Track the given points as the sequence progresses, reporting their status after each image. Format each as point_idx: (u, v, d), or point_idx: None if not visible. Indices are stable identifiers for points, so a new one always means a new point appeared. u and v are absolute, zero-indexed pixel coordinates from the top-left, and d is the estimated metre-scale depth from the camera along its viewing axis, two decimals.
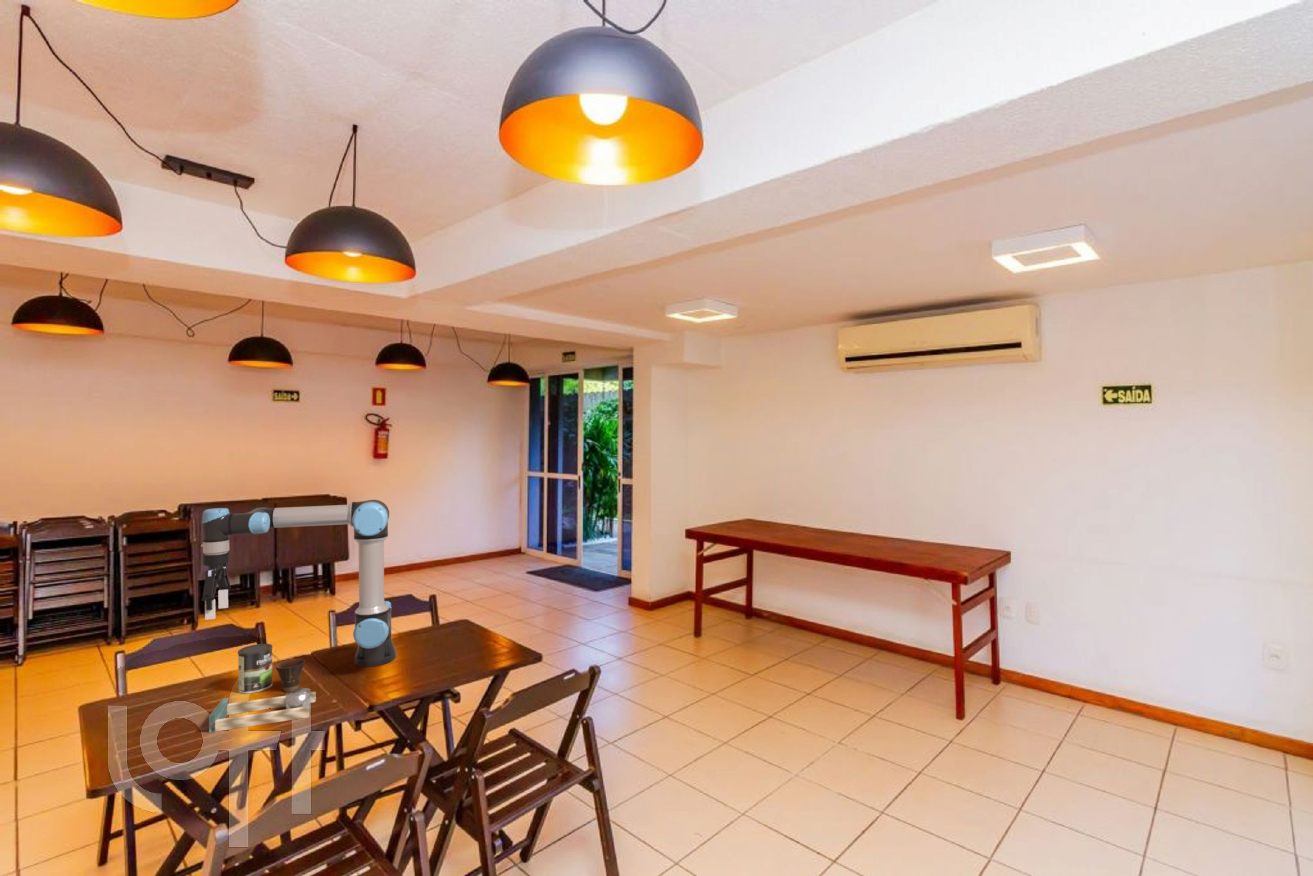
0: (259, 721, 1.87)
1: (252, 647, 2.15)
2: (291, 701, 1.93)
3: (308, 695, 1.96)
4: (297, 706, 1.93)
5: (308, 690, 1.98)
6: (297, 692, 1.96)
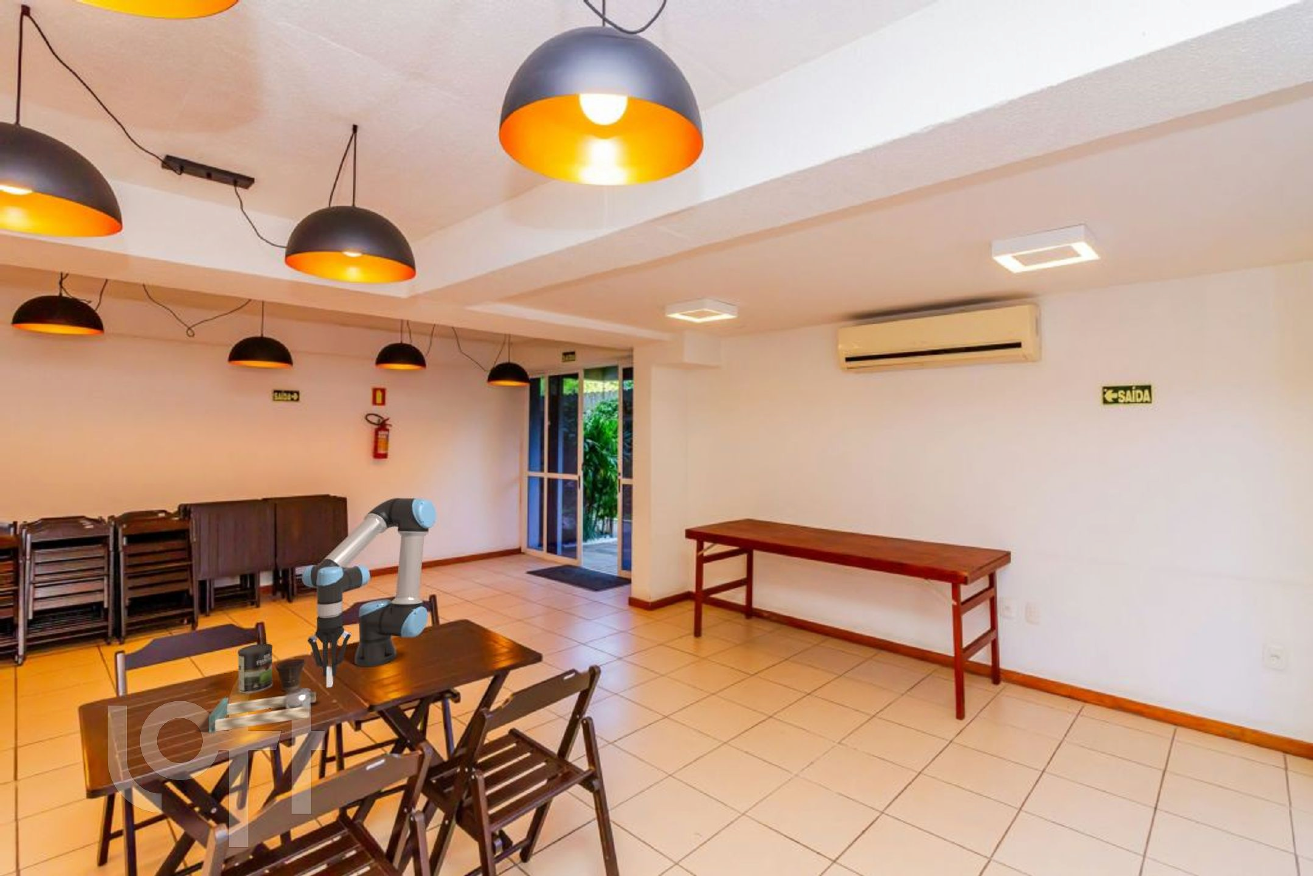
0: (259, 721, 1.87)
1: (252, 647, 2.15)
2: (291, 701, 1.93)
3: (308, 695, 1.96)
4: (297, 706, 1.93)
5: (308, 690, 1.98)
6: (297, 692, 1.96)
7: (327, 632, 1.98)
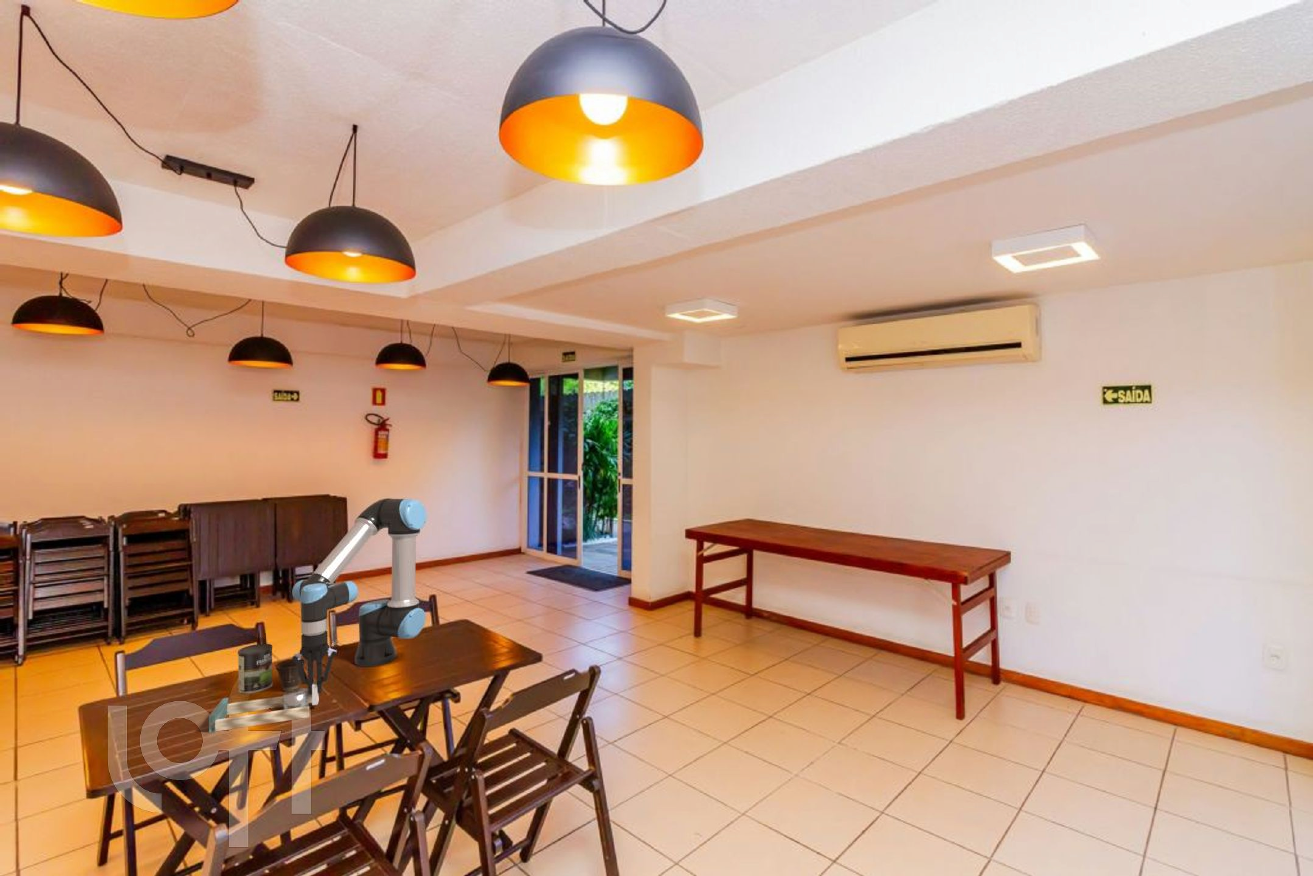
0: (259, 721, 1.87)
1: (252, 647, 2.15)
2: (289, 701, 1.92)
3: (306, 695, 1.95)
4: (295, 706, 1.93)
5: (306, 690, 1.97)
6: (295, 692, 1.96)
7: (312, 650, 1.96)
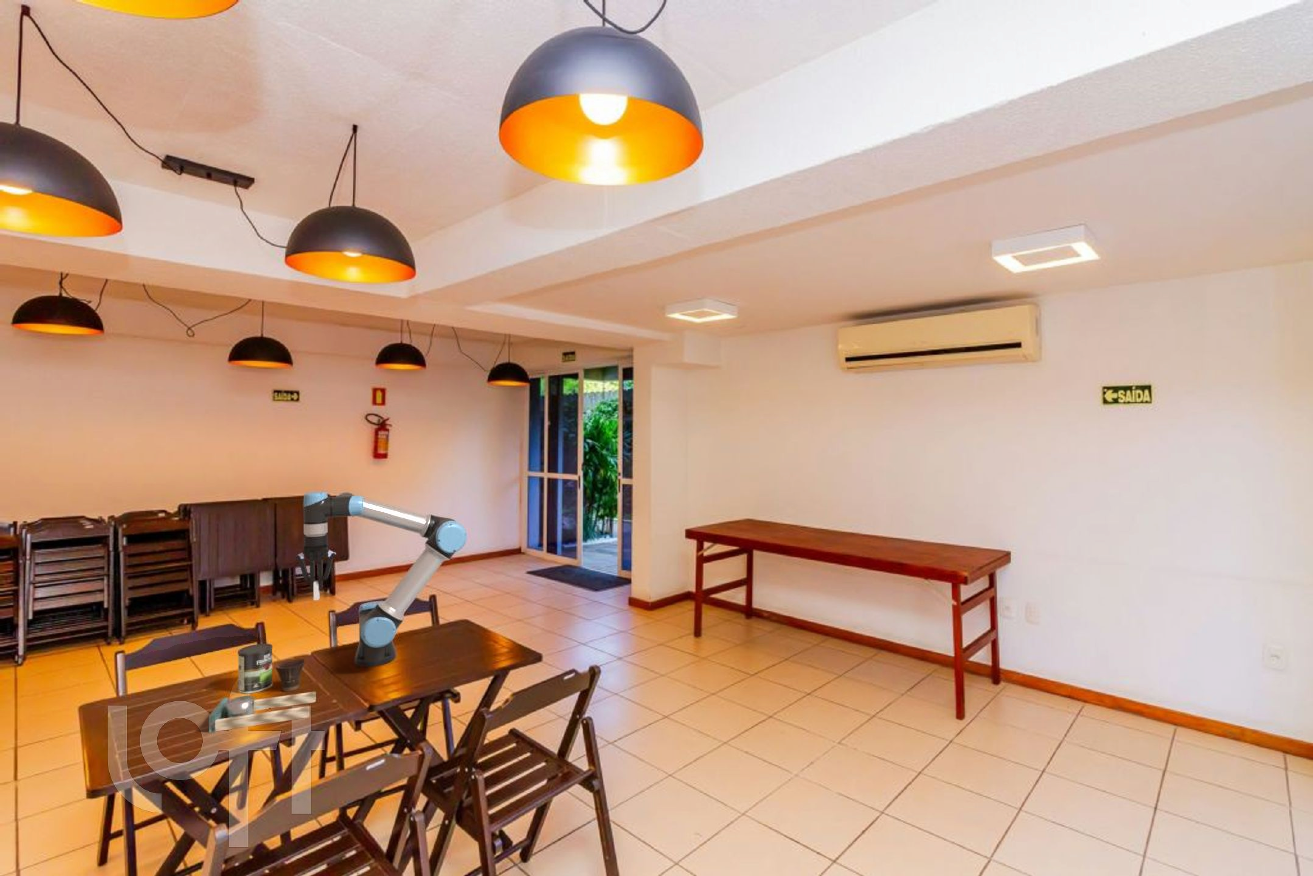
0: (259, 721, 1.87)
1: (252, 647, 2.15)
2: (232, 709, 1.87)
3: (250, 703, 1.90)
4: (238, 715, 1.87)
5: (251, 698, 1.92)
6: (240, 699, 1.91)
7: (313, 550, 2.16)
